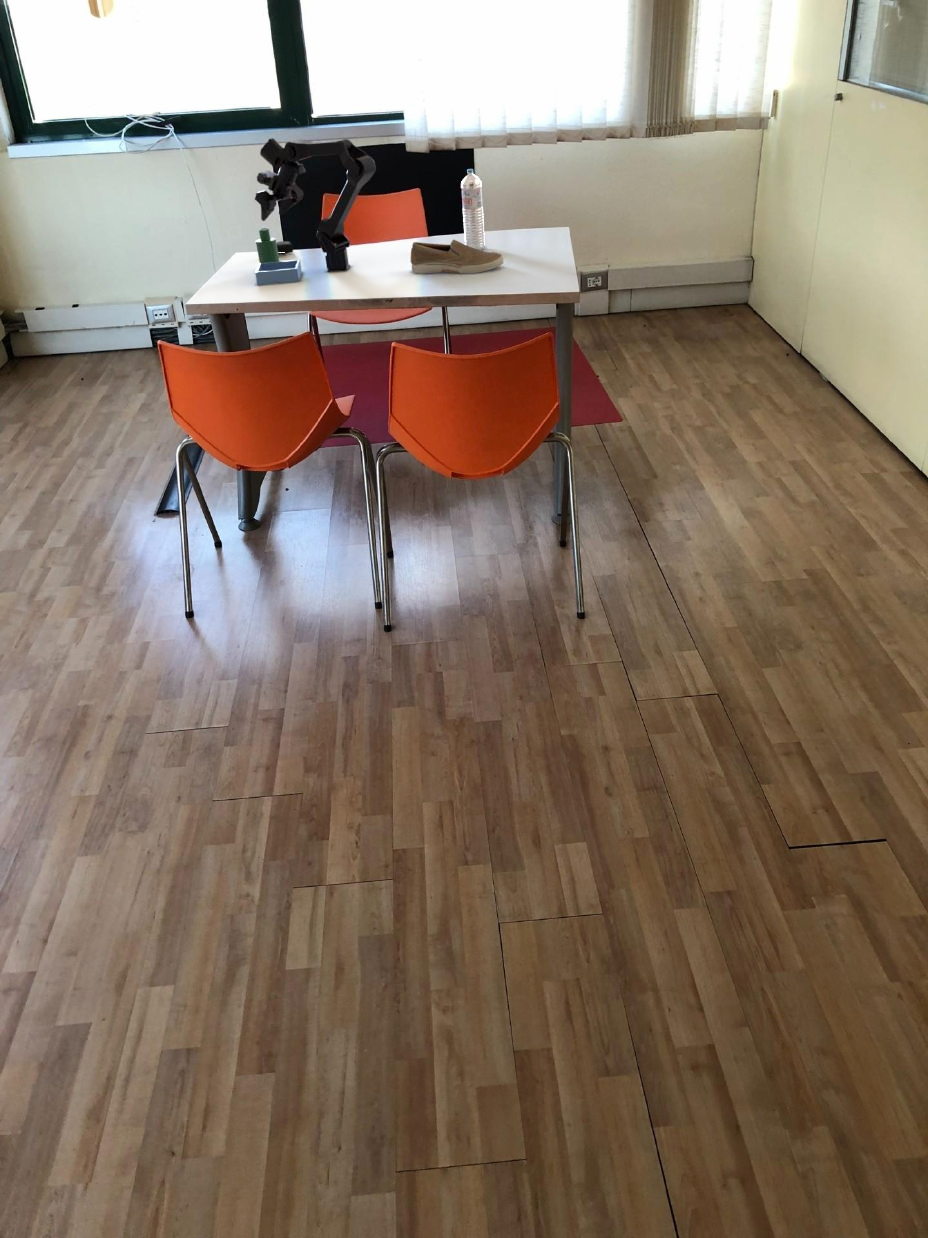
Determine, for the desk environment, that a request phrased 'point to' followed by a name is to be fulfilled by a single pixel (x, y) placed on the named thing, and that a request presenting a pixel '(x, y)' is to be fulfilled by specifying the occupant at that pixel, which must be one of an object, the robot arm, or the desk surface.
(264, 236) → the bottle
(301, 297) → the desk surface
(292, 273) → the tote
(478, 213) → the water bottle
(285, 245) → the tape measure
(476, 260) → the slip on shoe
